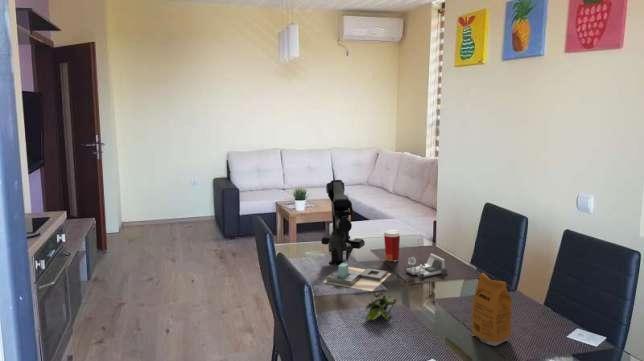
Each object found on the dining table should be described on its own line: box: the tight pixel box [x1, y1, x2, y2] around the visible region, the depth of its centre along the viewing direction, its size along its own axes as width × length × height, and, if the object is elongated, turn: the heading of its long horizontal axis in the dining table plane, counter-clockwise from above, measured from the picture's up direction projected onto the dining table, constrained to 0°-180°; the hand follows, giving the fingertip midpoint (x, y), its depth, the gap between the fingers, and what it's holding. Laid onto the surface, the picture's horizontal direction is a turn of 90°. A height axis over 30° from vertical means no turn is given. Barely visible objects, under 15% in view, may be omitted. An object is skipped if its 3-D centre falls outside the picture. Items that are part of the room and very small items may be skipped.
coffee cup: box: [382, 229, 401, 261], centre depth 252 cm, size 8×8×15 cm
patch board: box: [322, 266, 392, 292], centre depth 231 cm, size 22×24×1 cm
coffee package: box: [471, 272, 513, 342], centre depth 173 cm, size 10×12×22 cm
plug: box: [337, 262, 349, 278], centre depth 229 cm, size 4×3×7 cm
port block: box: [326, 269, 361, 286], centre depth 229 cm, size 10×12×2 cm
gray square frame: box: [361, 267, 389, 281], centre depth 233 cm, size 9×10×1 cm
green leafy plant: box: [364, 292, 397, 322], centre depth 193 cm, size 11×11×12 cm
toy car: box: [404, 253, 448, 279], centre depth 235 cm, size 18×10×12 cm
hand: (343, 260), depth 228 cm, fingers open, 4 cm apart
